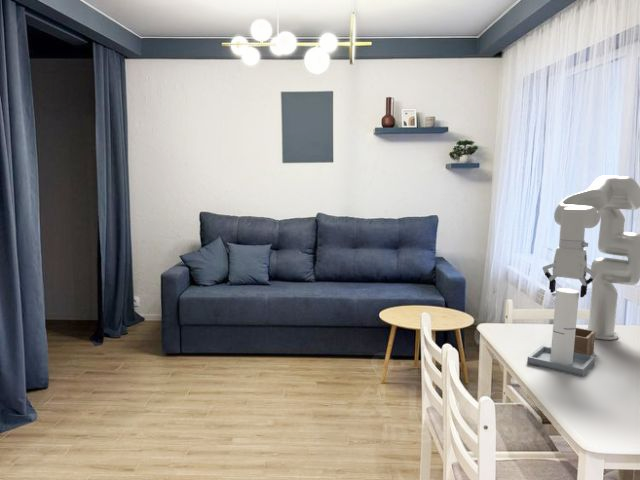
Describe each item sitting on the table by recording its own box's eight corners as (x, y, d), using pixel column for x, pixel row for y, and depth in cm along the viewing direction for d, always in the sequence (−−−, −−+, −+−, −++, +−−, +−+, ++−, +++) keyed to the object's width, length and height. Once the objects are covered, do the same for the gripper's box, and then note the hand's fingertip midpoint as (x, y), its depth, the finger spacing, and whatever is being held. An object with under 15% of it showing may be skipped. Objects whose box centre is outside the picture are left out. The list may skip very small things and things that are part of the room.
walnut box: (560, 345, 222) (562, 325, 221) (593, 352, 215) (595, 331, 214) (551, 353, 213) (553, 331, 211) (585, 360, 206) (587, 338, 204)
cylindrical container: (574, 365, 198) (581, 293, 194) (552, 363, 199) (558, 292, 195) (570, 358, 205) (576, 289, 201) (548, 356, 206) (554, 287, 202)
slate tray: (541, 352, 214) (542, 345, 213) (594, 363, 203) (595, 356, 202) (527, 363, 201) (527, 356, 201) (582, 376, 190) (583, 369, 190)
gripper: (601, 246, 194) (597, 296, 196) (548, 240, 204) (544, 288, 207) (596, 249, 188) (591, 300, 190) (541, 243, 198) (537, 292, 201)
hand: (567, 294), depth 199 cm, fingers open, 9 cm apart
